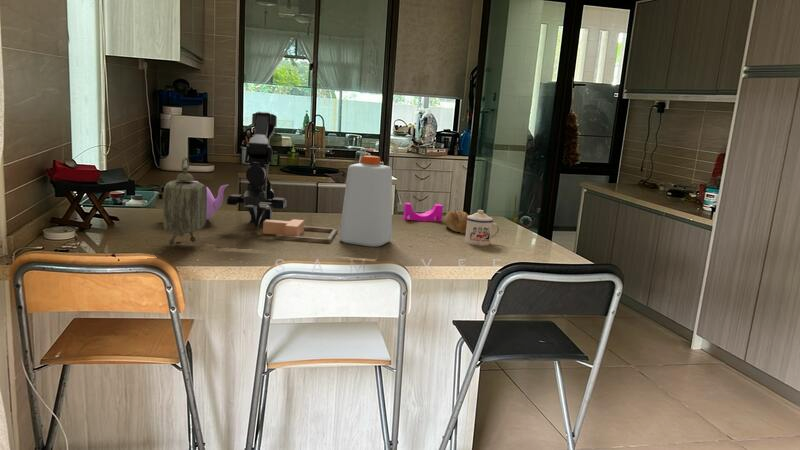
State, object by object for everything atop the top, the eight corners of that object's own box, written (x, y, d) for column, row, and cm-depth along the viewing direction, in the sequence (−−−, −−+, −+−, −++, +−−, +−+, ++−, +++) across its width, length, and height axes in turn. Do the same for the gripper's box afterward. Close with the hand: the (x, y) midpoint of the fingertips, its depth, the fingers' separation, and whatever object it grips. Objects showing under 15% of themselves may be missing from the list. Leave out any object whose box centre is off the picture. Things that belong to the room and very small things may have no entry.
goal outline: (275, 239, 191) (276, 235, 190) (288, 228, 209) (288, 224, 209) (329, 243, 190) (329, 239, 190) (337, 232, 208) (337, 228, 208)
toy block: (437, 221, 247) (439, 203, 245) (441, 224, 241) (442, 205, 239) (401, 219, 244) (403, 201, 243) (404, 222, 238) (406, 204, 236)
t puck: (259, 235, 194) (260, 223, 193) (268, 228, 206) (269, 217, 205) (296, 238, 194) (297, 226, 193) (303, 231, 206) (304, 220, 205)
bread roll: (450, 235, 219) (452, 213, 217) (438, 227, 233) (440, 206, 232) (475, 235, 221) (477, 214, 220) (462, 227, 236) (464, 207, 234)
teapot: (232, 218, 220) (233, 180, 217) (223, 226, 205) (224, 186, 202) (170, 214, 218) (170, 176, 215) (157, 222, 202) (157, 181, 200)
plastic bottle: (377, 248, 188) (384, 159, 183) (334, 242, 193) (339, 155, 188) (395, 240, 202) (401, 157, 197) (354, 234, 207) (359, 153, 202)
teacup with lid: (467, 245, 203) (470, 211, 200) (461, 239, 212) (464, 207, 209) (501, 247, 204) (505, 213, 202) (494, 241, 213) (498, 209, 211)
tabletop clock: (176, 235, 185) (177, 154, 180) (207, 237, 186) (208, 156, 181) (163, 246, 171) (163, 158, 166) (195, 248, 172) (196, 160, 167)
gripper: (221, 180, 189) (220, 229, 192) (280, 185, 189) (278, 233, 191) (232, 177, 200) (231, 223, 203) (288, 181, 200) (286, 227, 202)
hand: (256, 226), depth 200 cm, fingers closed
